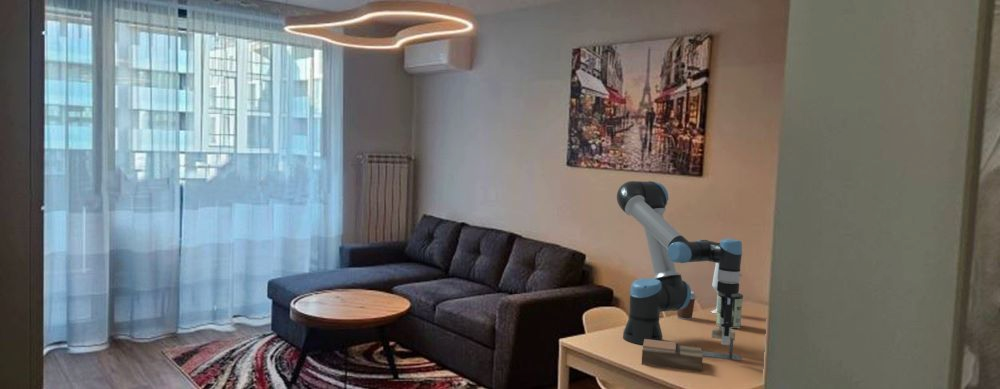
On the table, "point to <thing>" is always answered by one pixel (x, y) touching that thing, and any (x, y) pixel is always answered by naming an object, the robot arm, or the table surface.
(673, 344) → the tile
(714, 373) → the table surface
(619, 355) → the table surface
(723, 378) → the table surface
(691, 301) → the coffee cup
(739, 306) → the coffee can
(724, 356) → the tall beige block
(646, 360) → the flip board
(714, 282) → the champagne flute
